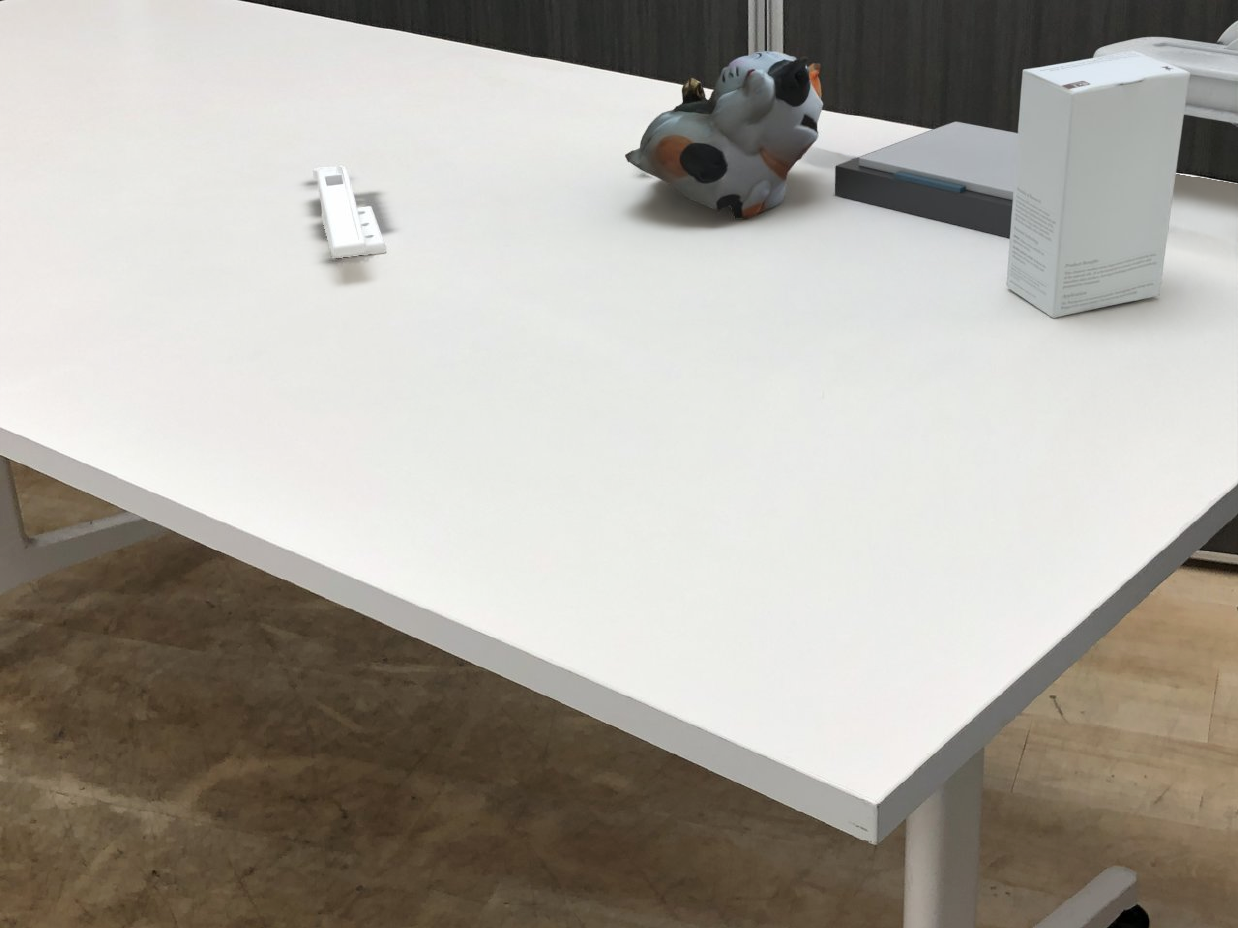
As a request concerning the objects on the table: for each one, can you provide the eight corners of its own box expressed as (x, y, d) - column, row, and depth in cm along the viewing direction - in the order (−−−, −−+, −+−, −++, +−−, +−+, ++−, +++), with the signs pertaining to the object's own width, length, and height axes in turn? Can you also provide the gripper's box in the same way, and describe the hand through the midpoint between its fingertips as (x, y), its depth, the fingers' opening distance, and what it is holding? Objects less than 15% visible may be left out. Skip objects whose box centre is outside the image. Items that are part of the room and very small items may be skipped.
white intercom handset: (366, 195, 120) (357, 131, 117) (395, 277, 103) (386, 203, 100) (317, 201, 119) (307, 136, 116) (338, 285, 102) (327, 211, 99)
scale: (1127, 189, 112) (1132, 150, 111) (1021, 241, 103) (1025, 199, 102) (944, 151, 123) (947, 115, 122) (834, 195, 114) (835, 157, 113)
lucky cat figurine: (669, 165, 123) (746, 13, 118) (787, 236, 120) (871, 82, 115) (597, 164, 109) (680, -8, 104) (727, 243, 106) (819, 70, 101)
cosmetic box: (1108, 270, 97) (1135, 47, 90) (1164, 301, 92) (1198, 67, 85) (998, 289, 95) (1018, 63, 88) (1050, 322, 90) (1075, 84, 83)
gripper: (1149, 8, 110) (1050, 42, 101) (1433, 43, 96) (1346, 85, 88) (1138, 91, 113) (1041, 130, 104) (1412, 136, 99) (1326, 185, 91)
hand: (1183, 110), depth 96 cm, fingers open, 8 cm apart
